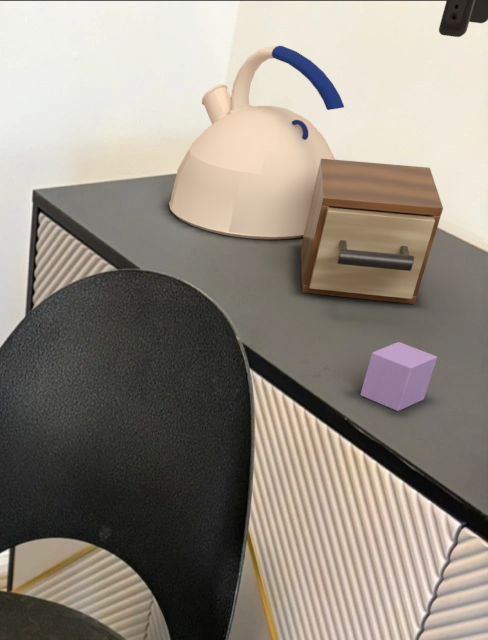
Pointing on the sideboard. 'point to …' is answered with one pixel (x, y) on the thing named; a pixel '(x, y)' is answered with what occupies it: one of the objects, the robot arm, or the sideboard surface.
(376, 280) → the drawer
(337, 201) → the wooden nightstand
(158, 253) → the sideboard surface
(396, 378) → the purple cube
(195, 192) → the kettle
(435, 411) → the sideboard surface
